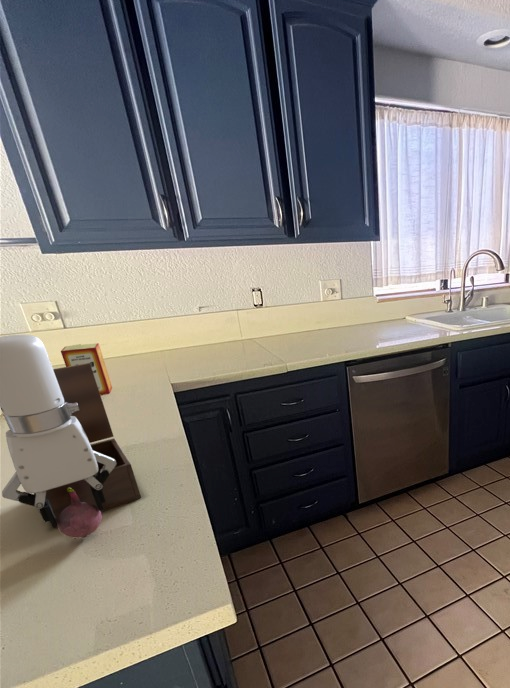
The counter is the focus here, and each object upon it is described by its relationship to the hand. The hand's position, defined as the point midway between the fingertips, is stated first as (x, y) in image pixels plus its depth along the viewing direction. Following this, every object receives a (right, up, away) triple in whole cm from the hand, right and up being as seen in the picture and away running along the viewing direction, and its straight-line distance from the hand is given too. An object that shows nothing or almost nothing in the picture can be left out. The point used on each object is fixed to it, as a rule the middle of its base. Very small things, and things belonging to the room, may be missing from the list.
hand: (77, 514), depth 73 cm
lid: (-12, +18, +12) cm, 25 cm away
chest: (-7, +1, +14) cm, 16 cm away
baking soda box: (-46, +27, +72) cm, 90 cm away
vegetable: (0, -5, +2) cm, 5 cm away
